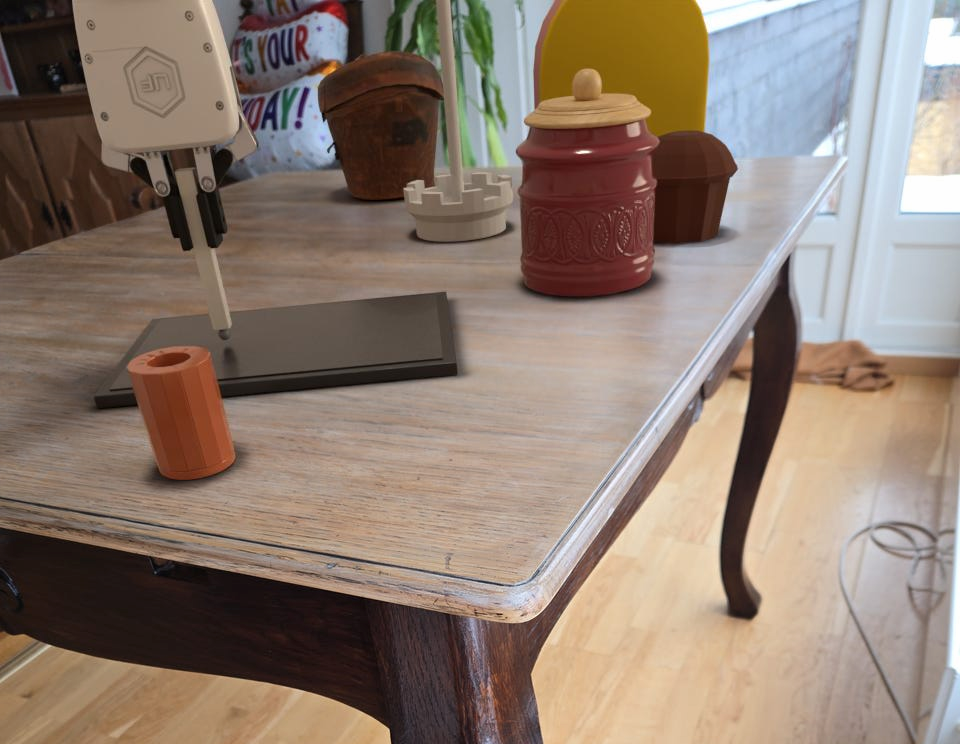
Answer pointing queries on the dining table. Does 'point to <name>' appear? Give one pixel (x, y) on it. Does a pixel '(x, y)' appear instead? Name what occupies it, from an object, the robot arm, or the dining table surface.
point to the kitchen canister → (587, 193)
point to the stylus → (204, 254)
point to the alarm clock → (629, 56)
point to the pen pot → (182, 411)
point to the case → (383, 121)
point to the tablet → (306, 346)
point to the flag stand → (456, 173)
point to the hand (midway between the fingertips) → (203, 244)
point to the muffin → (690, 186)
